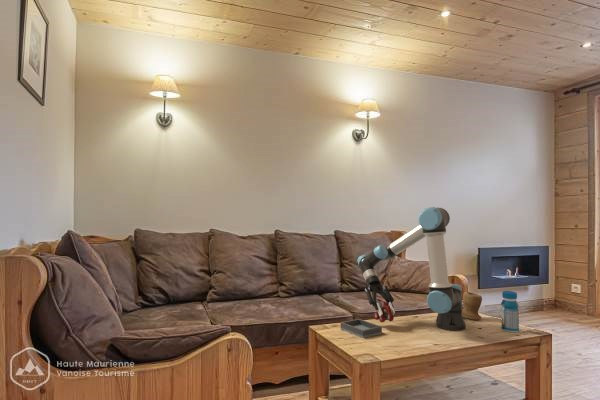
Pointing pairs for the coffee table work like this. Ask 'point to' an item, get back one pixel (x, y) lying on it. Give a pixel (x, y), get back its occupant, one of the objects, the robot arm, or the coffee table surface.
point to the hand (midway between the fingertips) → (387, 314)
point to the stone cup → (471, 305)
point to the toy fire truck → (384, 311)
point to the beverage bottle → (510, 312)
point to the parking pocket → (361, 328)
